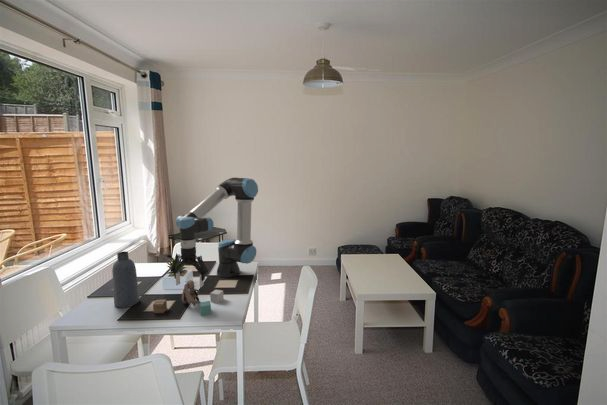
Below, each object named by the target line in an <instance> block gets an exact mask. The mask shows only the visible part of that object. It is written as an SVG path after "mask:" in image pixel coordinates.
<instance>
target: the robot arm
mask: <svg viewBox="0 0 607 405" xmlns="http://www.w3.org/2000/svg"><path fill="white" fill-rule="evenodd" d="M258 192H259V186H258V184H257V182H256V180H254V179H253V178H248V177H231V178H228V179H226V180H224V181H223V182H221V183H219V184H218V185H217V186H216V187H215V190H214V191H212V192H211V193H210V194H208V196H207V197H204V199H203V200H202V201H201V202H200V203H198V204H197V205H196V206H195V207H194V208H192V209H191V210H190V211H189V212H187V213H186V214H184V215H183V214H182V215H179V216H177V217H176V219H175V225H176V227H177V228H179V236H180V241H179V242H180V254H179V253H178V254H177V255H175V260H174V262H173V264H172V267H171V268H170V272H171V273H174V279H175V285H176V286H178V285H179V286H180V284H181V274H180V269H181V268H182V267H183V266H184V265H189V266H190V265H191V266H193V267H194V268H195V269H196V270H197V272H198V273H199V287H200V288H202V287H203V286H204V285H205V284H204V283H205V282H204V281H205V280H206V275H207V274H208V273H209V270H208V267H207V266H206V264H205V262H204V260H203V256H202V255H200V256H197V247H196V244H197V241H196V235H197V234H198V235H199V234H201V233H206V232H209V231H211V230H212V229H213V228H214V227H215V226H214V220H213V219H212V218H211V217H205V216H206V215H207V214H209V213H210V212H211V211H212V210H213V209H214V208H216V207H217V206H218V205H219V204H220V203H221V202H223V200H227V199H228V198H229V197H233V196H234V197H235V201H236V202H237V212H236V213H237V214H236V215H237V219H236V222H237V223H236V224H237V225H236V227H237V228H236V239H235V238H229V239H224V240H221V241H219V242H218V249H217V250H218V251H217V252H218V266H217V269H216V276H217V277H219V278H223V279H225V278H226V279H228V278H229V279H230V278H234V277H237V276H239V275H240V273H241V269H240V267H239V264H238V263H241V264H251V263H252V262H253V261H254V260H255V258H256V256H257V248H256V247H255V246H254V241H253V240H252V238H251V237H252V236H251V234H252V230H251V229H252V202H253V201H254V200H255V197H256V196H257V195H258ZM180 260H181V262H180ZM179 262H180V264H179ZM178 264H179V265H178Z"/></svg>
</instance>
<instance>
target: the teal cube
mask: <svg viewBox="0 0 607 405" xmlns="http://www.w3.org/2000/svg"><path fill="white" fill-rule="evenodd" d="M199 311H200V312H199V313H200V317H202V316H208V315H212V306H211V300H207V301H202V302H200V301H199Z"/></svg>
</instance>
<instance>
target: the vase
mask: <svg viewBox="0 0 607 405" xmlns="http://www.w3.org/2000/svg"><path fill="white" fill-rule="evenodd" d="M138 282H139V281H138V275H137V268H136V264H135V262H134V261H133V260H132V259H131V258H129V252H128V251H120V252H117V260H116V261H115V262H114V263H113V265H112V286H113V287H112V288H113V289H112V290H113V304H114V306H115V307H117V308H122V309H123V308H128V307H132V306H134V305H136V304H138V303H139V302H140V298H141V297H140V291H139V283H138Z"/></svg>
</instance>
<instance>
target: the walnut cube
mask: <svg viewBox="0 0 607 405" xmlns="http://www.w3.org/2000/svg"><path fill="white" fill-rule="evenodd" d="M167 303H168V302H167V299H155V301H154V303H153V304H152V308H153V314H165V312H166V310H167V308H168V304H167Z"/></svg>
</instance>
